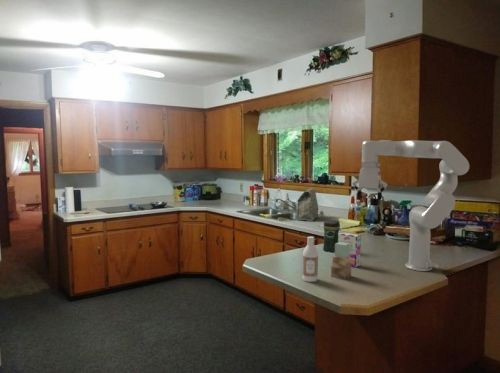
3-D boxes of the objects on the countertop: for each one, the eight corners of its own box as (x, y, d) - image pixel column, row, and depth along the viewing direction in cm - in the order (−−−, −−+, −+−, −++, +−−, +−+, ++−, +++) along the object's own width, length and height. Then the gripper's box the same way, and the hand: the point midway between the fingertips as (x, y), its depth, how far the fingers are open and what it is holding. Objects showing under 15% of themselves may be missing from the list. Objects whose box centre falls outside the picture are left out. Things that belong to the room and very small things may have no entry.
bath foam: (302, 281, 167) (302, 238, 166) (302, 276, 174) (303, 235, 172) (317, 282, 166) (318, 239, 164) (317, 277, 173) (318, 235, 171)
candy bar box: (360, 265, 192) (361, 234, 190) (355, 267, 188) (356, 236, 187) (341, 261, 200) (342, 231, 198) (336, 263, 196) (337, 232, 195)
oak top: (349, 266, 175) (350, 255, 175) (344, 269, 170) (344, 258, 170) (338, 263, 179) (338, 253, 178) (332, 266, 174) (332, 256, 174)
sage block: (349, 255, 175) (349, 243, 174) (344, 258, 171) (345, 245, 170) (339, 254, 178) (339, 241, 177) (334, 256, 174) (335, 243, 174)
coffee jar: (340, 249, 224) (341, 219, 222) (337, 253, 217) (338, 221, 215) (324, 248, 228) (325, 218, 226) (321, 251, 221) (322, 220, 219)
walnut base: (351, 276, 176) (351, 265, 176) (344, 280, 171) (345, 269, 170) (337, 273, 180) (337, 263, 180) (331, 276, 175) (331, 266, 174)
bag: (301, 216, 342) (302, 187, 340) (319, 217, 336) (319, 188, 334) (295, 220, 321) (295, 189, 319) (313, 222, 315) (314, 190, 313)
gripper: (389, 165, 181) (389, 200, 183) (355, 165, 192) (355, 198, 193) (384, 166, 175) (384, 201, 177) (350, 165, 186) (349, 199, 187)
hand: (369, 199), depth 185 cm, fingers open, 9 cm apart
